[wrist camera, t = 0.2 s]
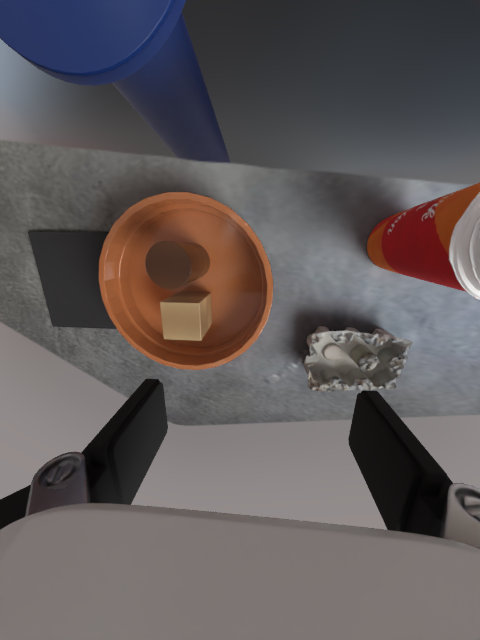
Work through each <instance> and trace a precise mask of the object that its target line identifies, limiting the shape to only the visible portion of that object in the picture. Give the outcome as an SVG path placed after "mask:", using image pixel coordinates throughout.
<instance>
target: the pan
mask: <svg viewBox="0 0 480 640" xmlns="http://www.w3.org/2000/svg"><path fill="white" fill-rule="evenodd" d="M161 241H173V242H183V243H194V244H198V245H200V246H202V247H203V248H204V249H205V250H206V251H207V253H208V255H209V258H210V267H209V270H208V272H207V273H206V274H205V275H204V276H203V277H201V278H199V279H197V280H195V281H192V282H190V283H188V284H186V285H184V286H182V287H180V288H177V289H172V290H170V289H164V288H161V287H159V286H158V285H156V284H155V283H154V282H153V281H152V280H151V279H150V277H149V275H148V273H147V271H146V266H145V259H146V255H147V253H148V251H149V249H150V248H151V247H152V246H153V245H154V244H156V243H158V242H161ZM99 284H100V290H101V295H102V300H103V302H104V305H105V307H106V310H107V312H108V315H109V317H110V319H111V320H112V322H113V323H114V325H115V326H116V328H117V329H118V331H119V332H120V334H121V335H122V336H123V337H124V338H125V339H126V340H127V341H128V342H129V343H130V344H131V345H132V346H133V347H134V348H136V349H137V350H138V351H140V352H141V353H143V354H144V355H145V356H147V357H148V358H151V359H153V360H155V361H157V362H159V363H161V364H164V365H167V366H171V367H175V368H179V369H192V370H200V369H206V368H212V367H217V366H219V365H222V364H224V363H227V362H230V361H232V360H233V359H235V358H236V357H237V356H239V355H240V354H242V353H243V352H245V351H246V350H247V349H248V348H249V347H250V346H251V345H252V344H253V343H254V341H255V340H256V339H257V338H258V336H259V335H260V333H261V331H262V329H263V328H264V326H265V324H266V322H267V319H268V316H269V312H270V309H271V306H272V296H273V279H272V274H271V268H270V263H269V260H268V258H267V255H266V253H265V250H264V248H263V246H262V243H261V241H260V240H259V239H258V237H257V236H256V234H255V233H254V232H253V230H252V229H251V227H250V226H249V225H248V224H247V222H245V221H244V220H243V219H242V218H241V217H240V216H239V215H238V214H236V213H235V212H234V211H233V210H232V209H230V208H229V207H227V206H225V205H223V204H221V203H220V202H218V201H216V200H214V199H212V198H210V197H206V196H202V195H198V194H194V193H190V192H166V193H162V194H158V195H155V196H151V197H148V198H145V199H143V200H141V201H140V202H138V203H137V204H135V205H133V206H132V207H130V208H128V209H127V210H126V211H125V212H124V213H123V215H122V216H121V217H120V218H119V219H118V220H117V221H116V222H115V223H114V224H113V226H112V228H111V230H110V232H109V233H108V235H107V237H106V239H105V241H104V244H103V248H102V251H101V255H100V259H99ZM178 292H204V293H211V307H212V325H211V326H210V328H209V329H208V331H207V332H206V334H205V335H204V337H203V339H202V340H201V341H195V340H170V339H164V337H163V327H162V318H161V308H160V302H161V301H163V300H165V299H167V298H169V297H170V296H172V295H174V294H176V293H178Z"/></svg>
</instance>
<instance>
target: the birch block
mask: <svg viewBox="0 0 480 640" xmlns="http://www.w3.org/2000/svg"><path fill="white" fill-rule="evenodd" d="M160 308H161V318H162V327H163V337H164V339H170V340H195V341H201V340H202V339H203V337H204V335H205V334H206V332H207V331H208V329H209V328H210V326H211V325H212V307H211V293H204V292H178V293H176V294H174V295H172V296H170V297H169V298H167V299H165V300H163V301H161V302H160Z"/></svg>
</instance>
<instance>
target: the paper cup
mask: <svg viewBox="0 0 480 640" xmlns="http://www.w3.org/2000/svg"><path fill="white" fill-rule="evenodd" d="M367 252H368V255H369V258H370V259H371V261H372V262H373V263H374V264H375V265H377V266H378V267H380V268H383V269H386V270H389V271H393V272H396V273H400V274H403V275H407V276H410V277H414V278H418V279H421V280H425V281H429V282H433V283H436V284H440V285H444V286H447V287H451V288H455V289H459V290H462V291H466V292H467V293H469V294H470V295H472V296H473V297H475V298H476V299H478V300H480V183H478V184H475V185H472V186H470V187H467V188H464V189H462V190H459V191H456V192H453V193H451V194H448V195H445V196H442V197H440V198H437V199H434V200H432V201H429V202H426V203H423V204H421V205H418V206H415V207H413V208H410V209H407V210H405V211H402V212H400V213H397V214H395V215H392V216H390V217H388V218H386V219H384V220H383V221H381V222H380V223H379V224H378V225H377V226H376V227H375V228H374V229H373V231H372V232H371V234H370V236H369V239H368V243H367Z"/></svg>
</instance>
